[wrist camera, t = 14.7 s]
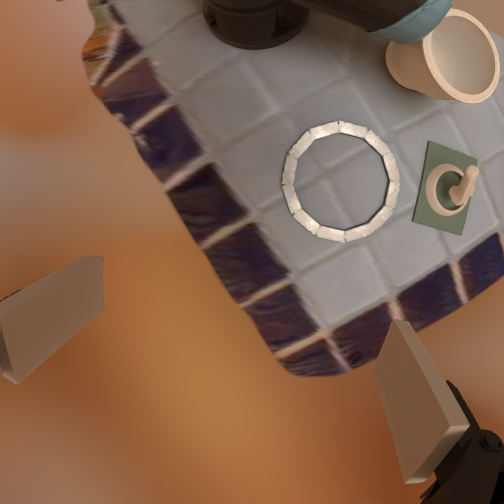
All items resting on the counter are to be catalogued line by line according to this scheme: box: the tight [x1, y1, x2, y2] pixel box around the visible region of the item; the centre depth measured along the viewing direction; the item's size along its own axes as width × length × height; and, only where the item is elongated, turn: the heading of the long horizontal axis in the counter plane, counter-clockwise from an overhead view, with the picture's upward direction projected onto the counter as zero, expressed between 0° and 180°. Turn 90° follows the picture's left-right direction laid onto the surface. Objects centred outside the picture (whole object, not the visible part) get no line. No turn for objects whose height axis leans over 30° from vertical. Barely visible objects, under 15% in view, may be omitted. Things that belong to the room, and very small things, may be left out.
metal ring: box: [282, 121, 400, 242], centre depth 41 cm, size 16×16×1 cm
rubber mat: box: [412, 141, 477, 236], centre depth 39 cm, size 12×9×1 cm
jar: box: [386, 9, 500, 103], centre depth 28 cm, size 11×10×15 cm
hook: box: [425, 164, 480, 216], centre depth 35 cm, size 8×12×7 cm
